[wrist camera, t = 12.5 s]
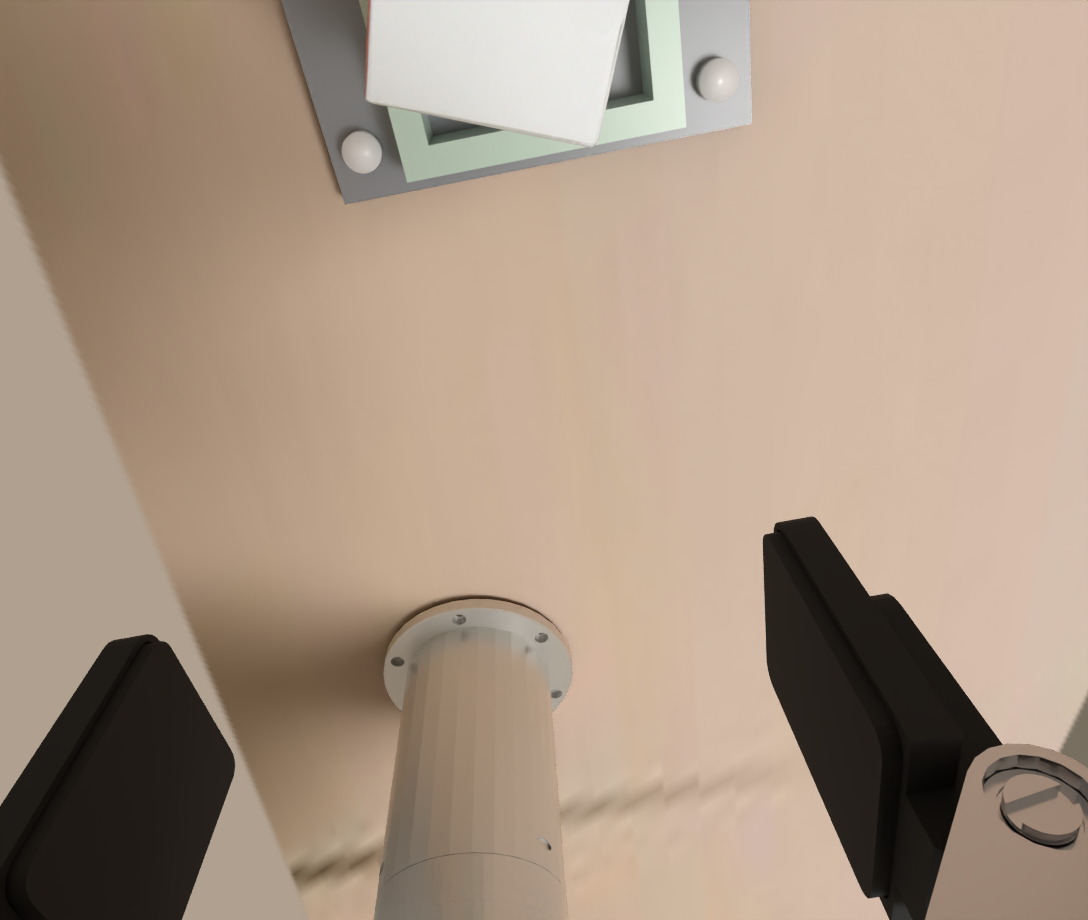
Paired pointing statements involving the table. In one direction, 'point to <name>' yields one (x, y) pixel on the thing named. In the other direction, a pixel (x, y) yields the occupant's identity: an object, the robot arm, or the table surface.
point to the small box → (497, 62)
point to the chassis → (478, 151)
